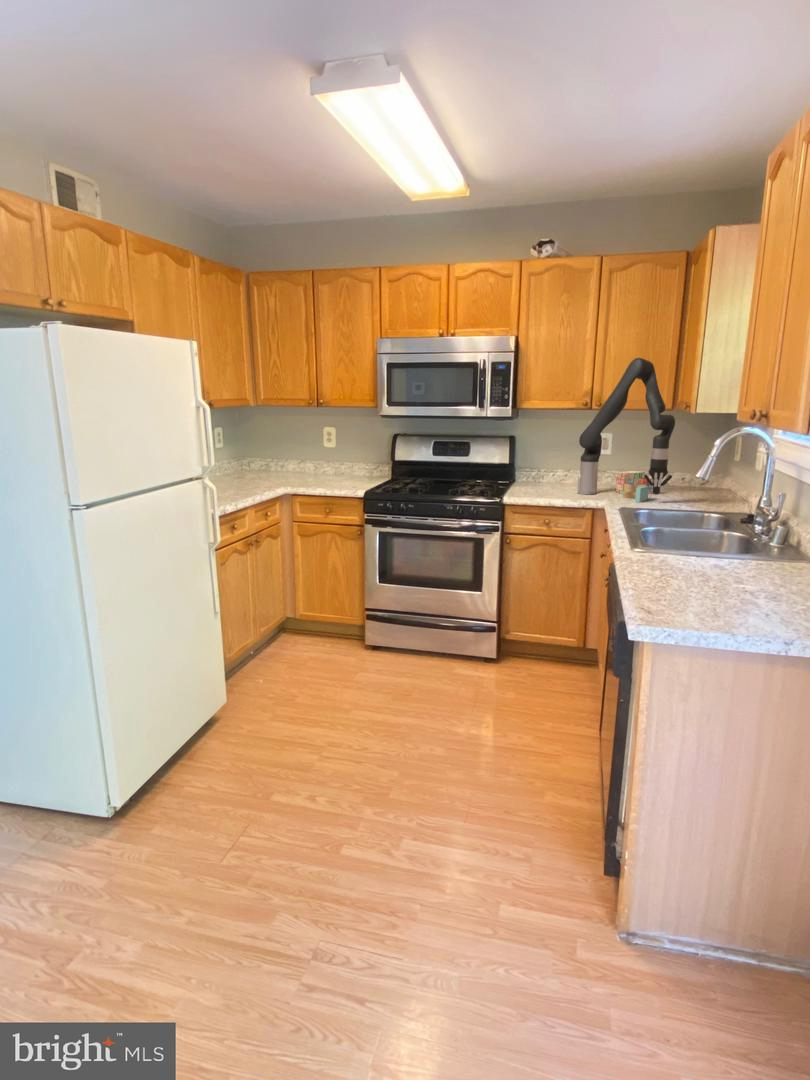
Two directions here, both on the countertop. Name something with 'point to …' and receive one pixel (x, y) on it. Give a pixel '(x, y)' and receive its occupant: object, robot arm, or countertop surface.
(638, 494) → the fence free panel
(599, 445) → the robot arm
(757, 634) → the countertop surface
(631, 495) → the fence fixed panel
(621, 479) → the stack of blocks
